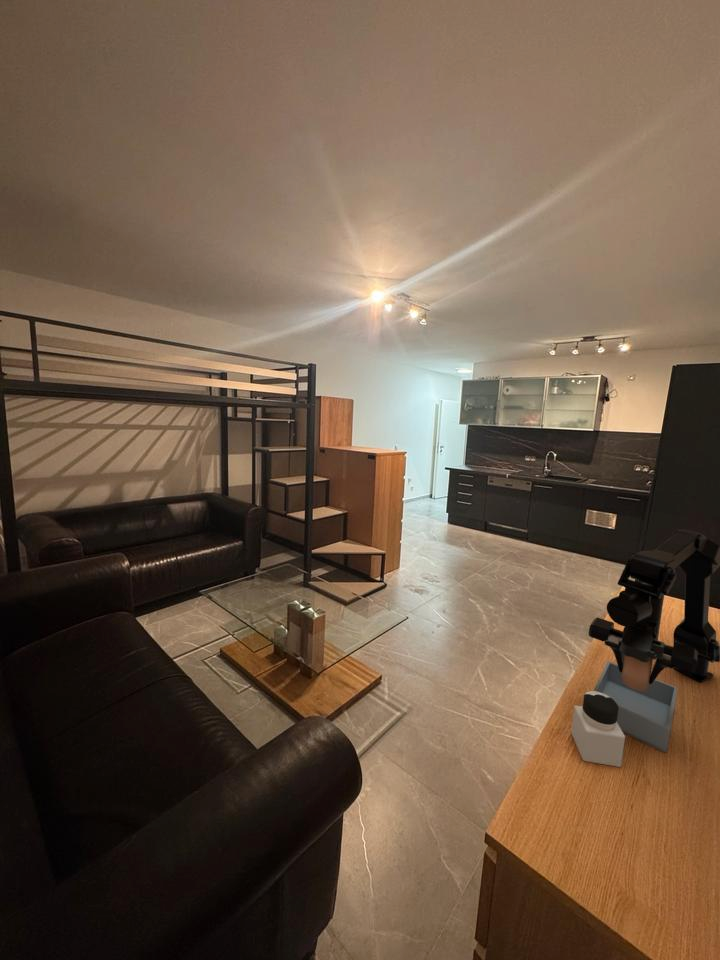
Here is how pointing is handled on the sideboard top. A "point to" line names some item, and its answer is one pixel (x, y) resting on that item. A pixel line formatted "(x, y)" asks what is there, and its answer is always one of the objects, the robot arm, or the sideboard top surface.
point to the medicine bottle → (598, 730)
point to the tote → (641, 707)
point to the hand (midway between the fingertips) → (635, 677)
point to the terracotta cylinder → (636, 673)
